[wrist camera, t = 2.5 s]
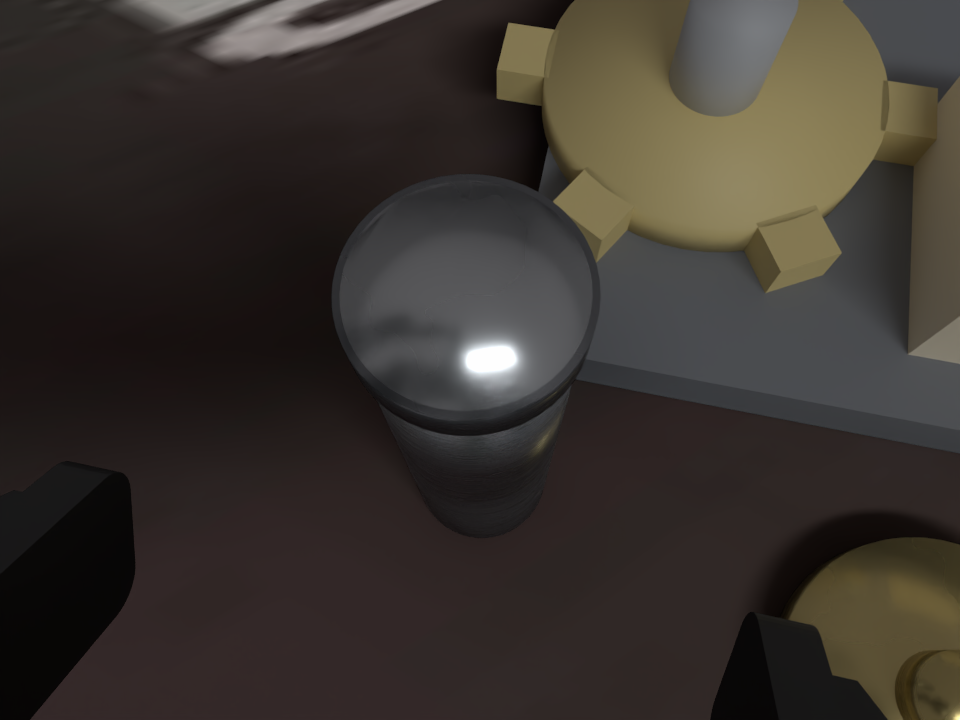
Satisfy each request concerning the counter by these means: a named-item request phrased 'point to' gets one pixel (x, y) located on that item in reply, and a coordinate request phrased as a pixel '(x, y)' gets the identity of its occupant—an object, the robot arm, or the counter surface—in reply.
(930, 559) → the brass knob disc
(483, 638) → the counter surface
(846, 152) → the gear board
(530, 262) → the grey cylinder peg
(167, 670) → the counter surface
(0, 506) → the robot arm
